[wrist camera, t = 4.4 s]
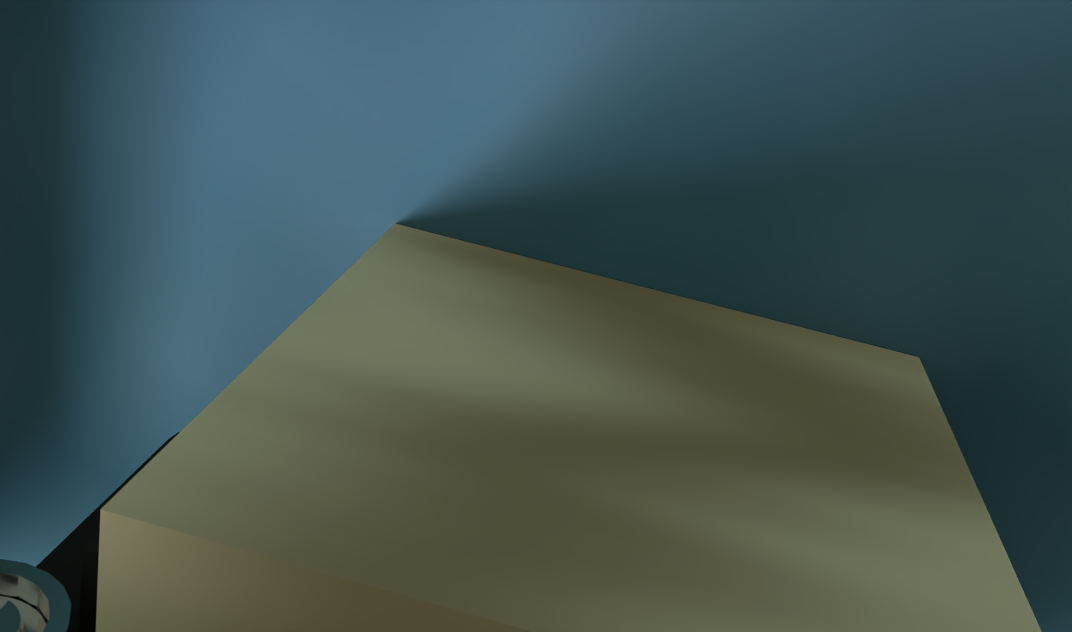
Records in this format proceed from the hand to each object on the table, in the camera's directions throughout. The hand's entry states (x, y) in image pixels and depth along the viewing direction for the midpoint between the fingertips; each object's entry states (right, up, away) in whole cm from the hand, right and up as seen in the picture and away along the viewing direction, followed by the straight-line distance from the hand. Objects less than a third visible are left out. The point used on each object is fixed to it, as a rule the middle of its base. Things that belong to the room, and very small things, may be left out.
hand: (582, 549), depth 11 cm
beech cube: (0, 0, +1) cm, 1 cm away
